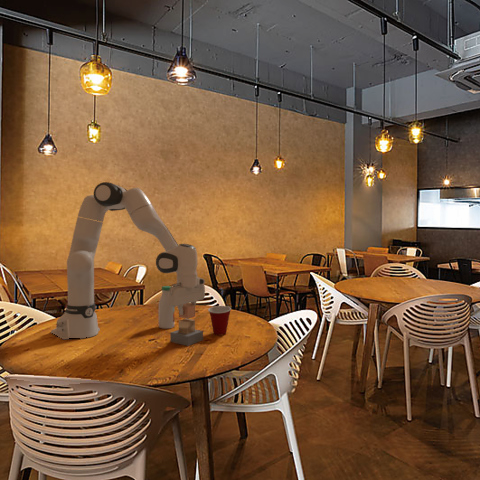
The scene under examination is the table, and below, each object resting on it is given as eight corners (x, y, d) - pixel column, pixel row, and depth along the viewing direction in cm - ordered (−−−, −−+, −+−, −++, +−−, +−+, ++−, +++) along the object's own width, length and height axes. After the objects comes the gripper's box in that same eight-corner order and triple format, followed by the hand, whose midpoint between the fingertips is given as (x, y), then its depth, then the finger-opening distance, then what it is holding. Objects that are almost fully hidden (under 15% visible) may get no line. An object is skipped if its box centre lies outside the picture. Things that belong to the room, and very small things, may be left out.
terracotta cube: (178, 317, 171) (178, 305, 170) (186, 314, 175) (186, 303, 174) (187, 318, 168) (187, 307, 168) (195, 316, 172) (195, 305, 172)
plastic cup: (202, 333, 183) (203, 308, 182) (219, 329, 191) (219, 304, 190) (219, 338, 176) (219, 312, 175) (235, 333, 183) (236, 308, 183)
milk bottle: (171, 329, 189) (171, 288, 188) (155, 328, 191) (155, 287, 190) (176, 325, 197) (176, 285, 196) (162, 324, 198) (162, 284, 197)
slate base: (170, 341, 170) (170, 332, 170) (185, 336, 179) (185, 327, 179) (187, 345, 165) (188, 336, 165) (203, 340, 173) (203, 331, 173)
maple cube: (187, 334, 168) (187, 322, 168) (178, 332, 171) (178, 320, 171) (194, 331, 172) (195, 320, 172) (186, 329, 175) (186, 318, 175)
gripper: (175, 285, 160) (175, 319, 161) (207, 279, 177) (207, 309, 178) (164, 283, 164) (164, 316, 164) (196, 278, 181) (196, 307, 181)
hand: (187, 313), depth 171 cm, fingers closed on terracotta cube, 5 cm apart
